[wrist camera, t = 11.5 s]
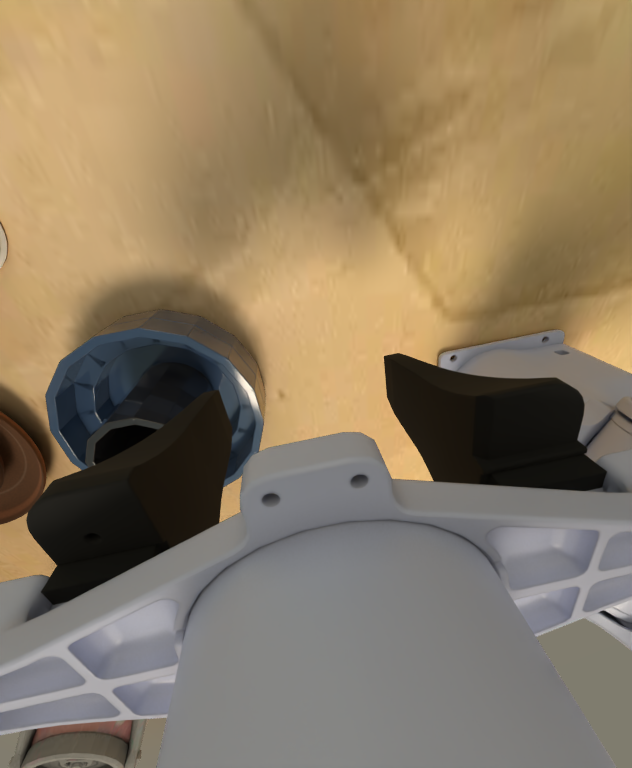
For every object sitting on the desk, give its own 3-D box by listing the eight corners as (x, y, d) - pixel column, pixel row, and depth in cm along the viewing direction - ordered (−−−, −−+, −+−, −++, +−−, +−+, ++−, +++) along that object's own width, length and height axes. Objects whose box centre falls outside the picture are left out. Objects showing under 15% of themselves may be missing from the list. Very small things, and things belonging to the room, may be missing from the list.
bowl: (239, 291, 21) (230, 309, 17) (280, 440, 27) (281, 480, 23) (51, 328, 21) (-2, 355, 17) (132, 470, 26) (107, 516, 22)
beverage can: (90, 561, 30) (-9, 746, 20) (185, 568, 32) (142, 741, 22) (90, 619, 34) (6, 801, 24) (175, 622, 36) (134, 793, 25)
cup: (201, 355, 22) (172, 409, 16) (224, 418, 24) (207, 488, 18) (124, 370, 22) (64, 431, 16) (155, 433, 24) (114, 507, 18)
